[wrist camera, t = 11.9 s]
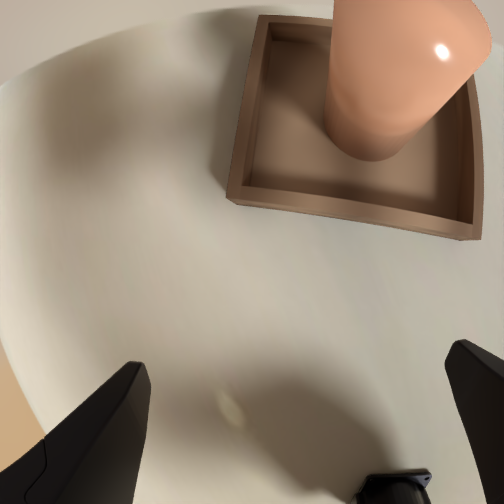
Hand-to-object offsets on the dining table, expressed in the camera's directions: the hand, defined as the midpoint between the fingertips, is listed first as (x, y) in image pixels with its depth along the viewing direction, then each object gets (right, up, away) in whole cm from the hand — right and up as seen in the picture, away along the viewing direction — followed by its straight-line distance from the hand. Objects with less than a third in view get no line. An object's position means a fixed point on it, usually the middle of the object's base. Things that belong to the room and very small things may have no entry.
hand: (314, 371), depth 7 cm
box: (+6, +12, +11) cm, 18 cm away
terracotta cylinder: (+6, +12, +11) cm, 17 cm away
